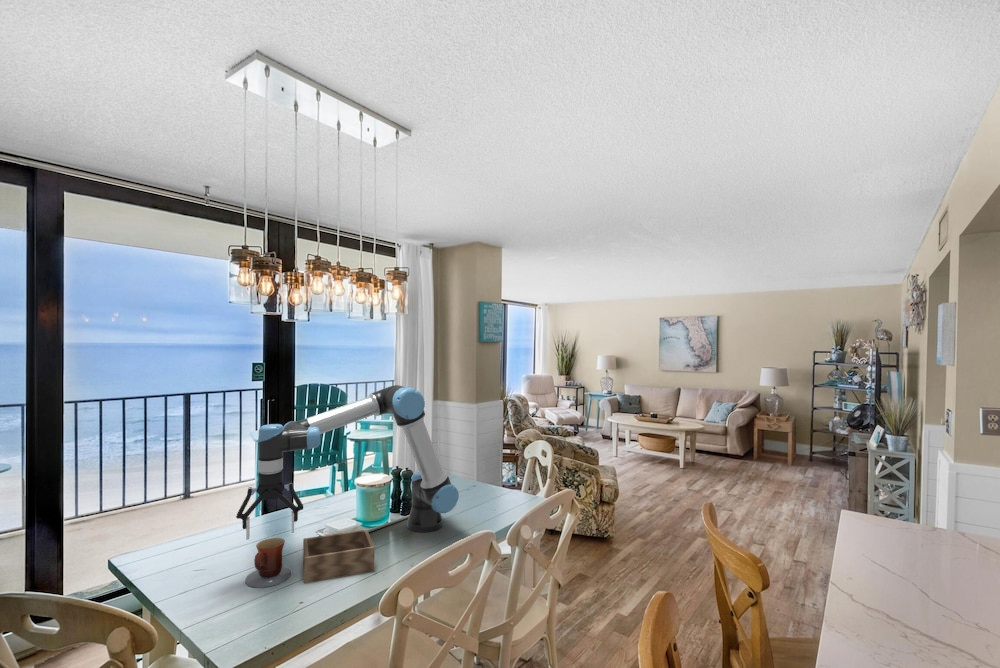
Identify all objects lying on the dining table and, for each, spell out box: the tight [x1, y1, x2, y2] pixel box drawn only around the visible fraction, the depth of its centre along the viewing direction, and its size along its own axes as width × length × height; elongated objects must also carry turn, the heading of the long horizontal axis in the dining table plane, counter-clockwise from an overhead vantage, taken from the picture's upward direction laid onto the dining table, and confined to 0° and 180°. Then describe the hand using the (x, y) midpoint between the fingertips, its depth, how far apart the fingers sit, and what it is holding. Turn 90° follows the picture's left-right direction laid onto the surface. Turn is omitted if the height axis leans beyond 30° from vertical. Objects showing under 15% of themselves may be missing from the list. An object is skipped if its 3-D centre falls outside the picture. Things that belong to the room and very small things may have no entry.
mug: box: [253, 537, 286, 578], centre depth 161 cm, size 12×9×10 cm
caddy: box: [302, 529, 376, 584], centre depth 170 cm, size 22×17×8 cm
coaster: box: [244, 565, 293, 589], centre depth 161 cm, size 14×14×1 cm
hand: (270, 534), depth 161 cm, fingers open, 13 cm apart
